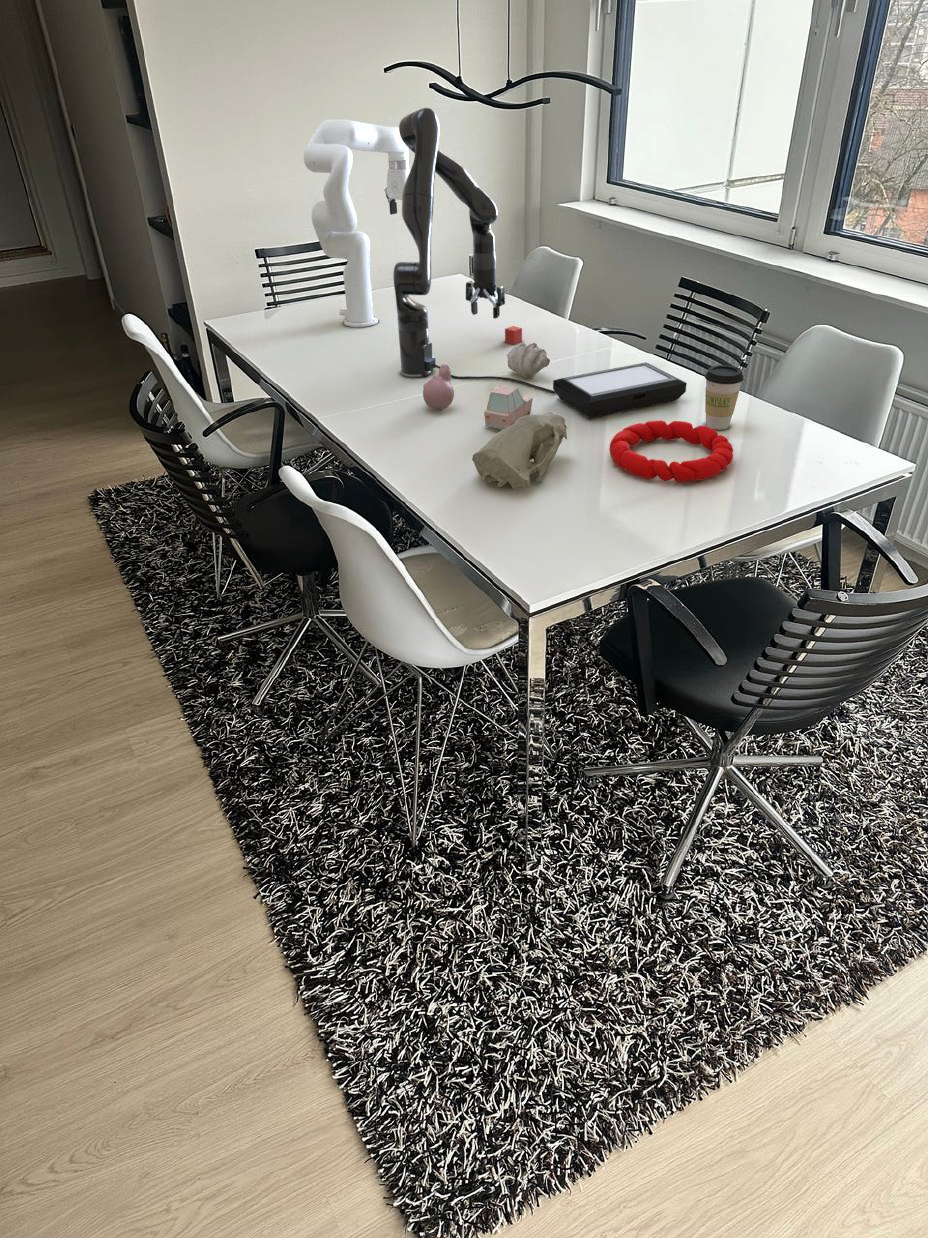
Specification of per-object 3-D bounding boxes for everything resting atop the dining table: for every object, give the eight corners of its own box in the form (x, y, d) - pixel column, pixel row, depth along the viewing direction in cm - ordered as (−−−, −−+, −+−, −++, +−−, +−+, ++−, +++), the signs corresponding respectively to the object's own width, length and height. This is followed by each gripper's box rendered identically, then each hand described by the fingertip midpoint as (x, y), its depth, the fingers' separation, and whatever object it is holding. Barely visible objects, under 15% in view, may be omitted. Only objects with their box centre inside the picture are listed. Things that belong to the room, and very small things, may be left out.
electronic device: (589, 399, 240) (553, 377, 255) (587, 421, 244) (552, 398, 259) (687, 380, 251) (647, 359, 266) (684, 401, 254) (645, 380, 269)
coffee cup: (691, 421, 242) (698, 367, 233) (722, 415, 245) (730, 362, 236) (712, 434, 234) (719, 379, 226) (743, 428, 237) (752, 373, 228)
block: (513, 339, 306) (513, 325, 304) (522, 341, 304) (522, 327, 301) (504, 342, 304) (504, 328, 301) (513, 344, 302) (513, 330, 299)
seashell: (522, 385, 268) (523, 352, 263) (503, 370, 280) (503, 338, 274) (553, 380, 271) (554, 348, 266) (533, 365, 283) (533, 334, 277)
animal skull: (489, 499, 227) (452, 459, 211) (541, 418, 229) (509, 372, 213) (540, 522, 217) (505, 481, 201) (594, 437, 219) (564, 390, 203)
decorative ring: (590, 427, 228) (644, 464, 203) (694, 411, 235) (759, 444, 210) (589, 454, 232) (643, 493, 207) (692, 437, 239) (756, 473, 214)
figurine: (441, 398, 262) (440, 358, 255) (460, 410, 254) (458, 368, 247) (414, 404, 258) (412, 363, 251) (432, 416, 250) (430, 374, 243)
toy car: (536, 415, 249) (537, 380, 243) (510, 434, 238) (510, 398, 232) (507, 409, 253) (507, 375, 247) (480, 428, 242) (479, 393, 236)
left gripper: (376, 164, 330) (379, 214, 340) (407, 168, 320) (410, 219, 330) (391, 161, 335) (394, 211, 344) (422, 165, 325) (425, 216, 334)
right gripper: (460, 265, 290) (461, 315, 300) (496, 270, 283) (496, 322, 293) (473, 260, 295) (474, 309, 305) (509, 265, 288) (509, 316, 298)
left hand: (402, 215), depth 337 cm, fingers open, 9 cm apart
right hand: (485, 315), depth 299 cm, fingers open, 8 cm apart
